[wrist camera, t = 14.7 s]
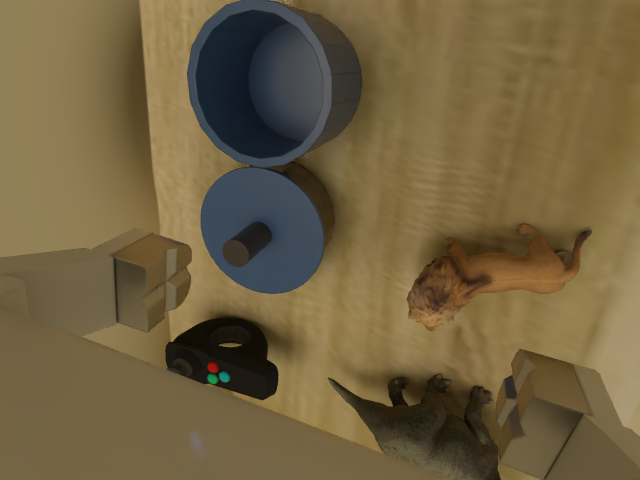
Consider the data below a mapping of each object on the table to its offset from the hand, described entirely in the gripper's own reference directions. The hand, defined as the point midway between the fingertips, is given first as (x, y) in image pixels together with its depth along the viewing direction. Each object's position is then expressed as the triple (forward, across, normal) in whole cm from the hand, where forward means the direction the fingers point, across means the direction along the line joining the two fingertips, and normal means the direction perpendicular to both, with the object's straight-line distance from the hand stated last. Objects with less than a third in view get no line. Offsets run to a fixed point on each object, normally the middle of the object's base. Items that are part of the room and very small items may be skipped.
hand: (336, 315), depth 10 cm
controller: (+29, +14, +26) cm, 42 cm away
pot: (+29, +12, -2) cm, 32 cm away
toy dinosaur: (+29, -8, +26) cm, 40 cm away
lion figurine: (+29, -8, +9) cm, 32 cm away
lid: (+24, +12, +10) cm, 29 cm away
